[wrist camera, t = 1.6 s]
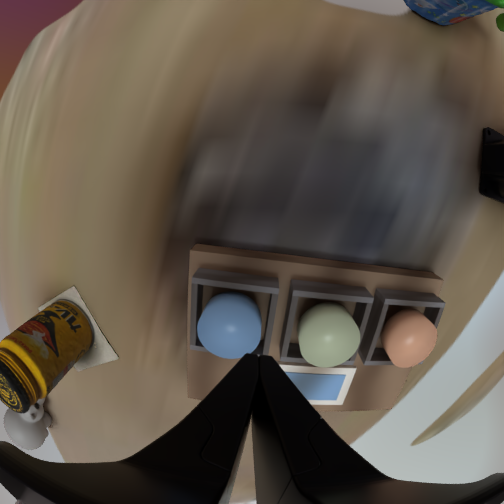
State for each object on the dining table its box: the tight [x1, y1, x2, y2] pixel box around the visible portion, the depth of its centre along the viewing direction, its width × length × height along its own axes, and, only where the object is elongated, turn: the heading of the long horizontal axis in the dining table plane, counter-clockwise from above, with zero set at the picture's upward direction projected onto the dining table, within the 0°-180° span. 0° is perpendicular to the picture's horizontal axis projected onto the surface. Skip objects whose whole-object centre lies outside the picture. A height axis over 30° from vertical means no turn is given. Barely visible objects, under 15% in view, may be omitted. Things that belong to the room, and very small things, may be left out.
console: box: [187, 244, 445, 411], centre depth 21 cm, size 20×14×4 cm
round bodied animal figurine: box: [4, 398, 52, 450], centre depth 26 cm, size 7×12×8 cm, turn 144°
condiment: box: [0, 286, 119, 414], centre depth 19 cm, size 7×8×12 cm
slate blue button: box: [197, 291, 262, 359], centre depth 18 cm, size 4×4×2 cm
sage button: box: [297, 302, 360, 367], centre depth 18 cm, size 4×4×2 cm
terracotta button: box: [381, 308, 437, 368], centre depth 18 cm, size 4×4×2 cm
